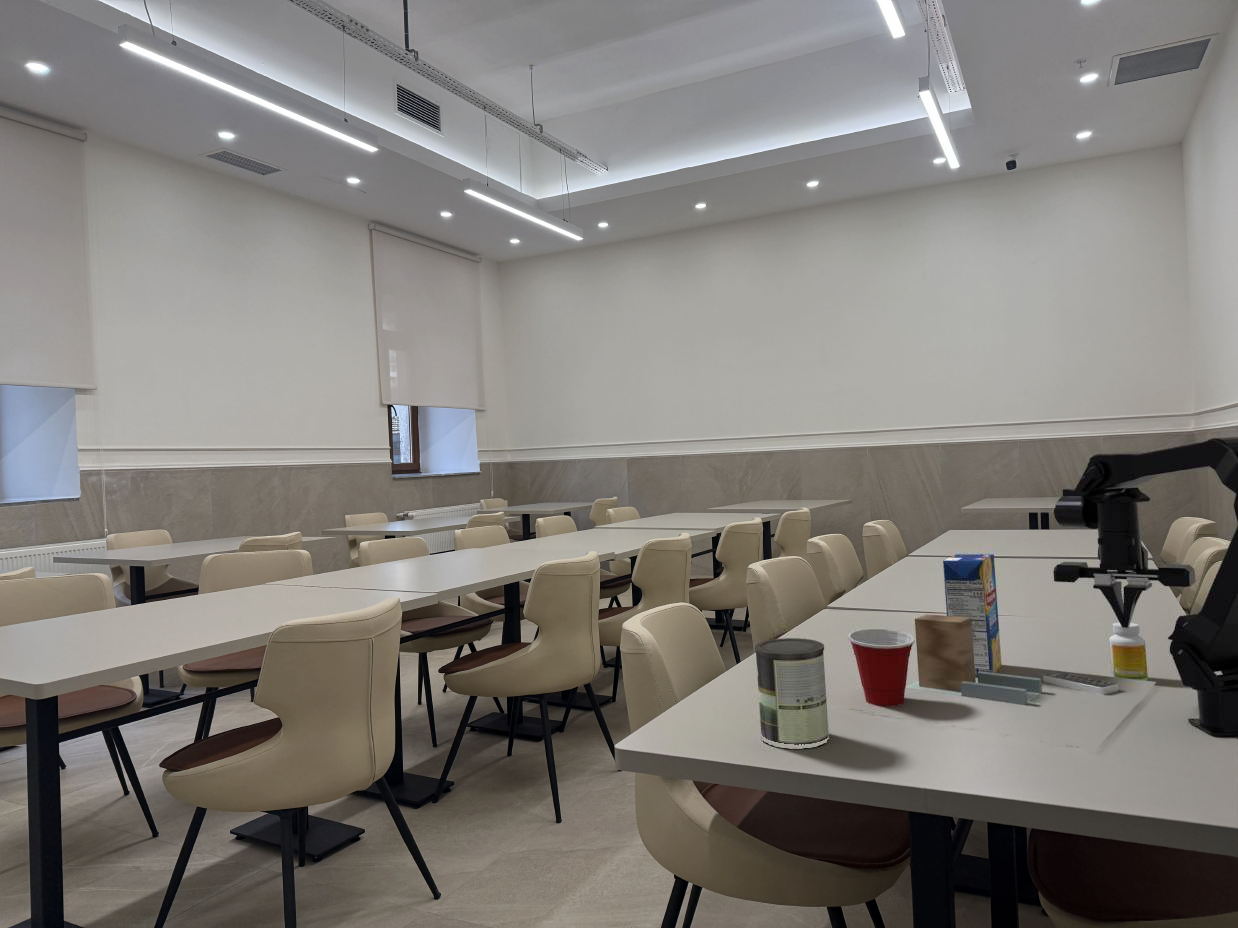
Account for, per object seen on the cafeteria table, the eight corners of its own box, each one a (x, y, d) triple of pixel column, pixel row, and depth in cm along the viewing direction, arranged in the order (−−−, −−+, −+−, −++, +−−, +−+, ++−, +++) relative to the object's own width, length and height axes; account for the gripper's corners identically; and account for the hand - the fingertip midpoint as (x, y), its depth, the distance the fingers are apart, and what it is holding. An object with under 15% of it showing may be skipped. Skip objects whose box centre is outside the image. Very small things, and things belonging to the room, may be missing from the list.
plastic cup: (876, 719, 127) (871, 643, 127) (840, 702, 137) (835, 632, 137) (934, 709, 130) (929, 636, 130) (894, 693, 140) (889, 625, 140)
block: (976, 686, 139) (971, 617, 139) (965, 692, 135) (960, 622, 136) (930, 680, 144) (926, 614, 145) (919, 686, 141) (914, 618, 141)
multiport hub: (1103, 702, 130) (1102, 687, 130) (1042, 688, 140) (1041, 675, 140) (1120, 697, 132) (1119, 683, 132) (1059, 684, 141) (1058, 671, 141)
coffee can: (748, 742, 119) (742, 648, 120) (780, 723, 127) (774, 635, 128) (811, 754, 113) (804, 655, 113) (841, 733, 121) (835, 641, 121)
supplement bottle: (1153, 683, 137) (1149, 626, 137) (1119, 683, 138) (1115, 627, 139) (1140, 675, 143) (1135, 621, 143) (1107, 675, 144) (1103, 621, 144)
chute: (1042, 696, 133) (1041, 678, 133) (1025, 709, 127) (1024, 690, 127) (925, 680, 147) (924, 664, 147) (904, 692, 141) (903, 675, 141)
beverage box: (951, 678, 148) (942, 560, 148) (964, 665, 157) (956, 554, 157) (990, 682, 144) (982, 560, 144) (1001, 668, 153) (993, 554, 153)
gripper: (1197, 526, 128) (1204, 623, 127) (1068, 526, 140) (1074, 614, 140) (1185, 532, 119) (1193, 636, 119) (1049, 532, 132) (1056, 625, 132)
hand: (1125, 627), depth 128 cm, fingers closed
